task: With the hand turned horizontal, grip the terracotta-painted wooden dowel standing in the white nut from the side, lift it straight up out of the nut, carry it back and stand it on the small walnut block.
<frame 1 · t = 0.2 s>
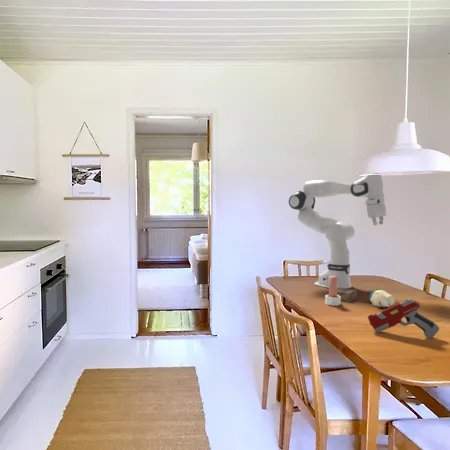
hand: (378, 224, 239), 39 cm above the table, fingers open, 8 cm apart
white nut: (332, 304, 214), on the table
dowel: (332, 303, 214), point 1 cm above the table, touching white nut
stand: (344, 299, 225), on the table
cartoon head: (378, 306, 212), on the table
toy gun: (401, 335, 168), on the table
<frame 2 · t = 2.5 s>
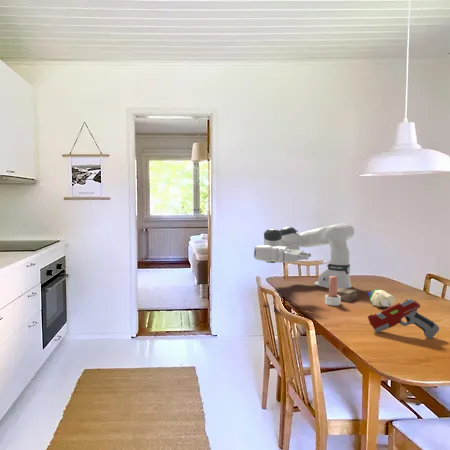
hand: (309, 256, 217), 24 cm above the table, fingers open, 8 cm apart
nothing on the table moved.
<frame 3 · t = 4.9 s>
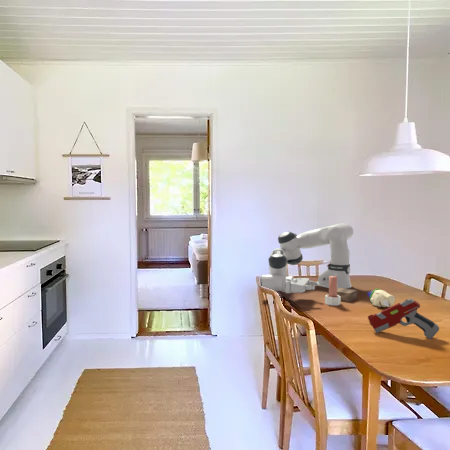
hand: (316, 285, 216), 9 cm above the table, fingers open, 8 cm apart
nothing on the table moved.
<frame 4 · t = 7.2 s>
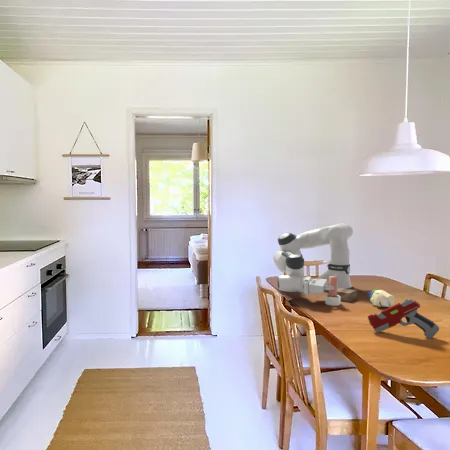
hand: (334, 286, 213), 10 cm above the table, fingers closed on dowel, 4 cm apart
dowel: (332, 303, 214), point 1 cm above the table, touching white nut, gripper
everything else where it was.
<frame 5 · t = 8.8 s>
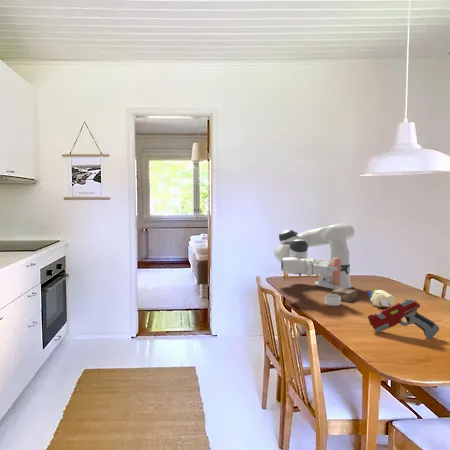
hand: (338, 268, 214), 19 cm above the table, fingers closed on dowel, 4 cm apart
dowel: (336, 284, 215), point 10 cm above the table, touching gripper
everything else where it was.
when the fingers open (15 cm above the table, at t = 10.5 s): dowel stays where it is, resting on stand.
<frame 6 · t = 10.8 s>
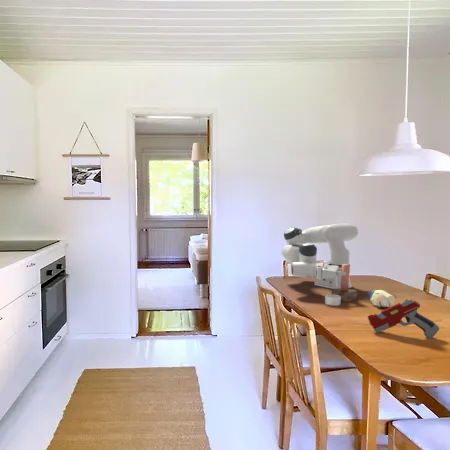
hand: (346, 272, 223), 15 cm above the table, fingers open, 7 cm apart
dowel: (344, 290, 224), point 5 cm above the table, touching stand
everything else where it was.
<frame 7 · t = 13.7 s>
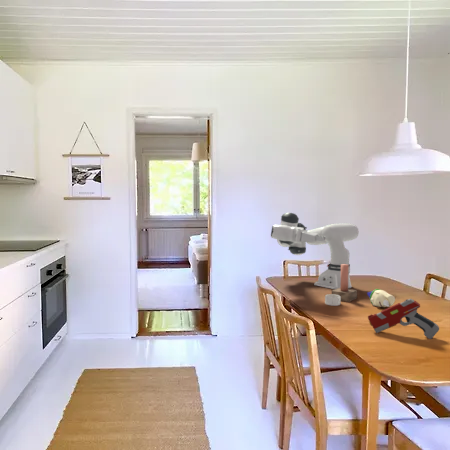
hand: (324, 239, 226), 33 cm above the table, fingers open, 8 cm apart
nothing on the table moved.
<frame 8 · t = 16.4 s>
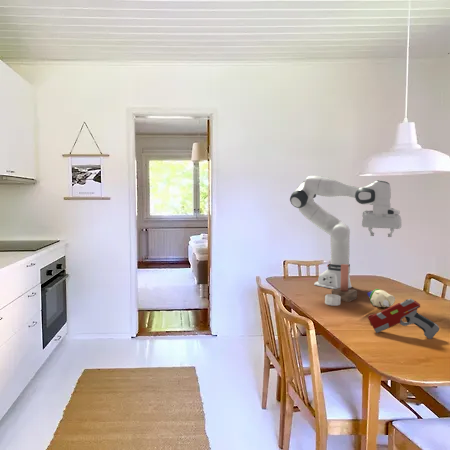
hand: (380, 236, 224), 34 cm above the table, fingers open, 8 cm apart
nothing on the table moved.
at the end: dowel inside the target area on the stand (0.0 cm from its centre), point 5.0 cm above the stand's base; dowel tilted 1°; the gripper is holding nothing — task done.
